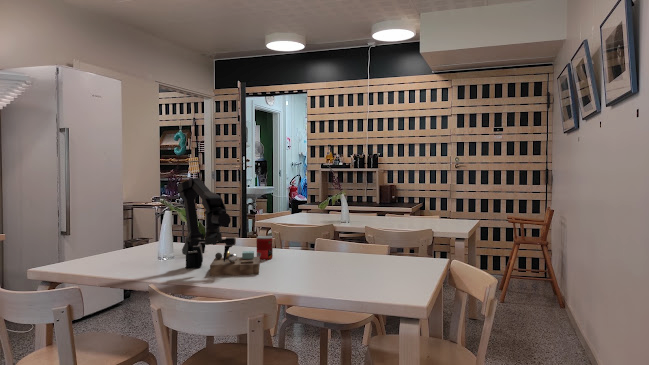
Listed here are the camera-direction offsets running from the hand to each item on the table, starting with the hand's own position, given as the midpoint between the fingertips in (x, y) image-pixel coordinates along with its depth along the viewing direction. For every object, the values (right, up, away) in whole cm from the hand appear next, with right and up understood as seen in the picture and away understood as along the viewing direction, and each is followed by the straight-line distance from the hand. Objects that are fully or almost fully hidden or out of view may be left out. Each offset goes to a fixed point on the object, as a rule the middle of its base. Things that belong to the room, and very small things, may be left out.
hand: (213, 261), depth 197 cm
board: (+9, -5, +6) cm, 12 cm away
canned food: (+17, -5, +36) cm, 40 cm away
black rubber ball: (0, +1, +10) cm, 10 cm away
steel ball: (+8, +1, +1) cm, 8 cm away
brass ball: (+3, +1, +12) cm, 13 cm away
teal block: (+13, 0, +12) cm, 18 cm away
